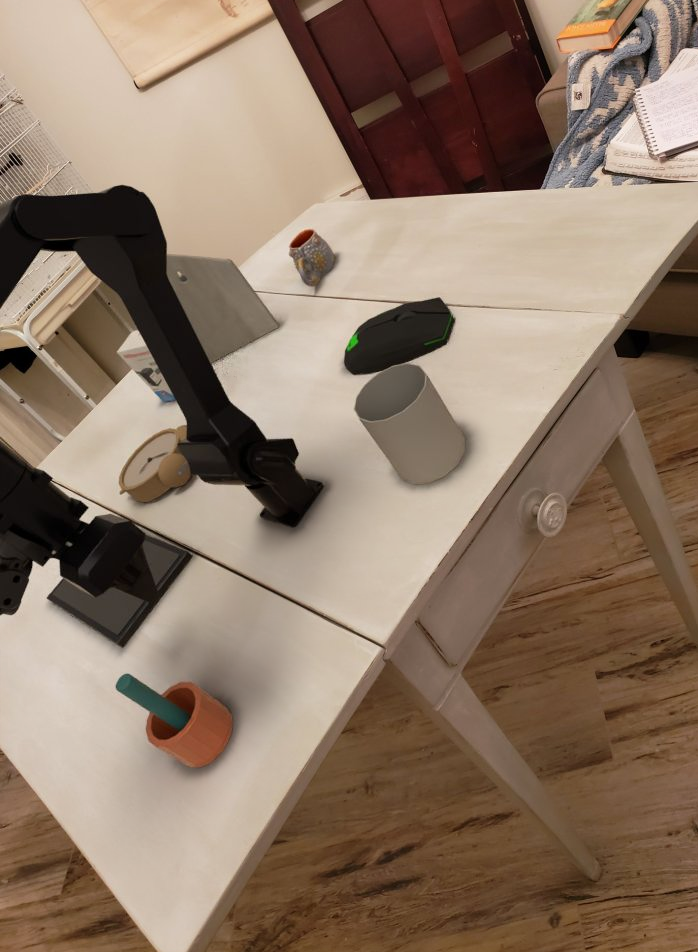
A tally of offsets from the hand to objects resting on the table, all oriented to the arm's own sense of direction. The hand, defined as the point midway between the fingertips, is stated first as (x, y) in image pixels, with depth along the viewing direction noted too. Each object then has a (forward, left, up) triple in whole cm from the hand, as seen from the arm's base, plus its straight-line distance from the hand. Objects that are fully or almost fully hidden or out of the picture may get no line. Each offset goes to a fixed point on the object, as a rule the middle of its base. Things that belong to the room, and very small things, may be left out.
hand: (129, 586), depth 68 cm
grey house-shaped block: (+42, -47, -13) cm, 65 cm away
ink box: (+44, -34, -13) cm, 57 cm away
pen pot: (-7, +7, -13) cm, 16 cm away
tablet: (+23, -2, -13) cm, 27 cm away
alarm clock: (+30, -19, -13) cm, 38 cm away
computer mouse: (+5, -47, -13) cm, 49 cm away
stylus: (-7, +7, -12) cm, 16 cm away
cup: (-12, -29, -13) cm, 34 cm away
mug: (+34, -62, -13) cm, 72 cm away
